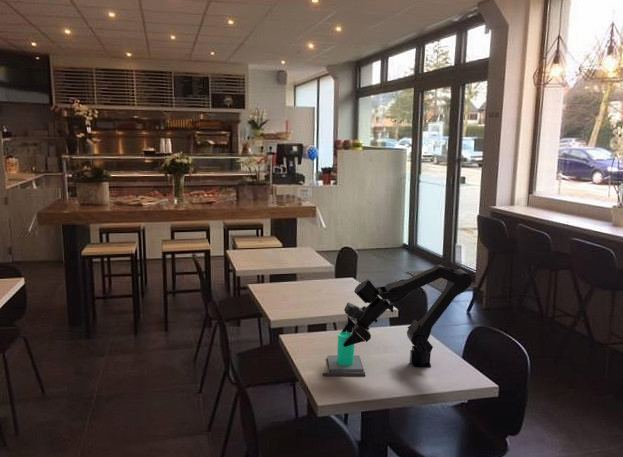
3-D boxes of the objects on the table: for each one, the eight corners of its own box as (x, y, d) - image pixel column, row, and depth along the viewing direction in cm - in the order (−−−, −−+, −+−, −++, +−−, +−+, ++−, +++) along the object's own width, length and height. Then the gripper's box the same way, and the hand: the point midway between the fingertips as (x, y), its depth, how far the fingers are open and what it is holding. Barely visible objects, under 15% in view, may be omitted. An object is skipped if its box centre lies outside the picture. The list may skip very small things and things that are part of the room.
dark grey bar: (364, 375, 191) (364, 371, 191) (365, 377, 190) (365, 373, 190) (322, 375, 190) (322, 371, 190) (322, 377, 189) (322, 373, 189)
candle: (347, 366, 195) (348, 334, 193) (333, 362, 198) (334, 330, 196) (356, 361, 199) (358, 330, 197) (343, 357, 203) (344, 326, 201)
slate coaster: (359, 357, 205) (359, 355, 205) (363, 371, 193) (363, 369, 193) (327, 357, 205) (327, 355, 204) (329, 371, 193) (329, 369, 193)
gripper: (354, 288, 204) (323, 317, 205) (362, 304, 186) (329, 335, 187) (374, 308, 206) (344, 337, 207) (384, 326, 188) (351, 357, 189)
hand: (341, 341), depth 197 cm, fingers open, 9 cm apart
